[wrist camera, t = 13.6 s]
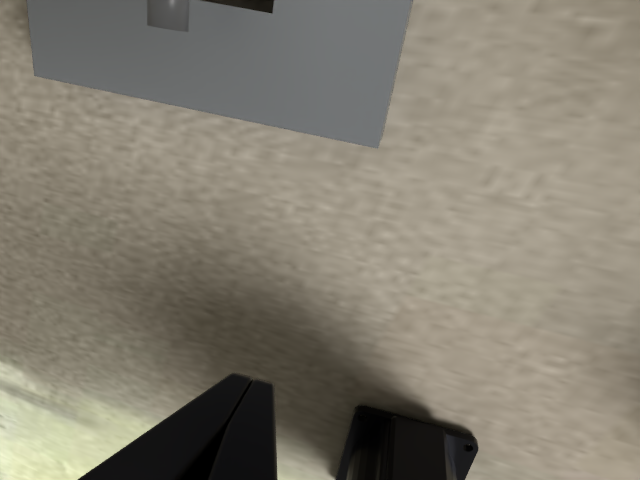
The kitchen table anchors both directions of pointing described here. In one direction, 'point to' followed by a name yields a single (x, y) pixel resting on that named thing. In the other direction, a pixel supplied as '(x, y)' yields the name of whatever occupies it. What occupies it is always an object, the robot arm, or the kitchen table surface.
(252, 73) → the socket plate
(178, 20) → the plug
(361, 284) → the kitchen table surface
